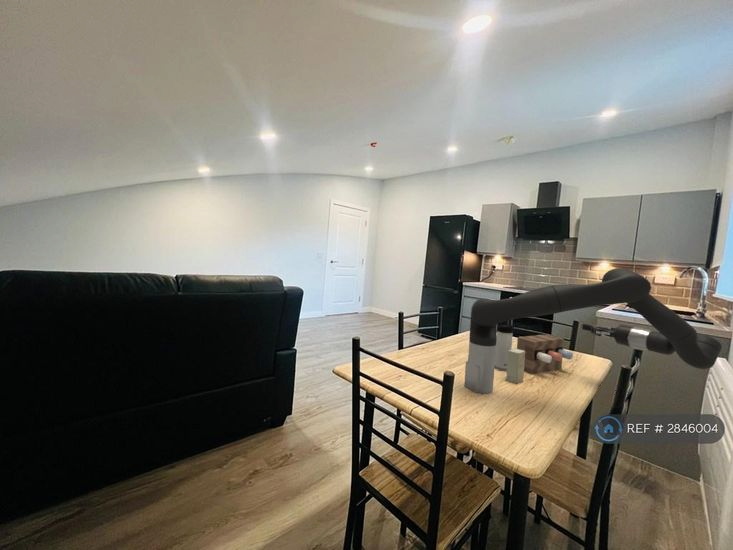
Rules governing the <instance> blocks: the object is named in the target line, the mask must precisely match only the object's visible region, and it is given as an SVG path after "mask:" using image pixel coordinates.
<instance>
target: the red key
mask: <svg viewBox="0 0 733 550" xmlns="http://www.w3.org/2000/svg"><path fill="white" fill-rule="evenodd" d="M547 355H550V356H552V359H554V360H557V361H561V360H562V361H563V356H562V354H560V353H556V352H553V351H549V352H548V354H547Z"/></svg>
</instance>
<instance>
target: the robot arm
mask: <svg viewBox="0 0 733 550" xmlns="http://www.w3.org/2000/svg"><path fill="white" fill-rule="evenodd" d="M602 276H603V277H602V278H601V282H598V283H597V282H596V283H591V284H575V283H574V284H571V283H569V284H568V283H567V284H565V283H563V284H553V285H549V286H544V287H540V288H535V289H531V290H529V291H526V292H523V293H521V294H517V295H516V296H513V297H510V298H505V299H504V298H503V299H496V300H495V299H494V300H491V299H488V298H480V299H477V300H476V301H474V302H473V304H472V306H471V307H470V308H471V309H470V321H469V322H470V323H469V325H470V326H469V340H468V341H469V342H468V352H467V353H468V355H467V361H465V370H464V384H463V386H464V387H465V388H466V389H468V390H470V391H471V392H473V393H475V394H483V395H484V394H486V395H487V394H491V393H493V392H494V382H495V381H494V379H495V369H496V368H495V353H496V341H497V327H498V324H501V323H505V322H509V321H512V320H517V319H522V318H523V319H527V318H533V317H541V316H548V315H554V314H559V313H564V312H570V311H575V310H580V309H586V308H591V307H599V306H606V305H616V304H627V305H628V306H630V307H631V308H632V309H633V310H634V311H636V312H637V313H638V314H640V316H641V317H643V319H645V321H647V322H648V323H649V324H650V325H651V326H652V327H653V328H654V329H656V331H654V330H649V329H646V328H642V327H638V326H637V327H636V326H630V325H626V324H619V325H618V326H617V327H616V326H608V325H597V324H596V325H593V324H588V323H583V324H581V329H582V330H584V331H589V332H590V333H591V334H593V335H595V336H597V337H605V338H608V339H612V338H614V340H615V342H616V343H617V345H621V346H626V347H629V348H632V349H637V350H642V351H643V350H644V351H648V352H649V351H650V352H654V353H658V354H661V355H667V356H669V355H670V356H671V355H672V354H675V352H676V354H677V356H678V357H679V358H680V359H681V361H683V362H684V363H685V364H687V365H688V366H690V367H692V368H696V369H699V370H707V369H711V368H712V367H713V366H714V365H715V364H716V362H717V359H718V357H719V355H720V353H721V351H722V344H721V342H720V341H718V339H716V338H714V337H712V336H709V335H706V334H701V333H699V334H698V332H697V330H696V329H695V328H694V327H693V326H692V325H690V323H689V322H688V321H686V320H685V319H684V318H682V316H680V315H679V314H678V313H676V312H675V311H673V309H671V308H669V307H668V306H666V305H665V304H663V303H662V302H661V301H659V299H656V298H655V297H654V296H653V295H652V294H650V292H651V290H652V285H651V282H650V281H649V280H648V279H647V278H646V277H645V276H643V275H641V274H639V273H637V272H635V271H633V270H630V269H627V268H620V267H619V268H617V267H616V268H613V269H610V270H608V271H606V272H605V273H604V275H602Z"/></svg>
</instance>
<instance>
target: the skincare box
mask: <svg viewBox="0 0 733 550" xmlns="http://www.w3.org/2000/svg"><path fill="white" fill-rule="evenodd" d="M524 363H525V351H523V350H519V349H517V348H515V347H514V348H511V350H509V351H508V362H507V371H506V377H505V379H506V381H508V382H511V383H514V384H520V383H521V382H523V381H524V375H525V371H524Z"/></svg>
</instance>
